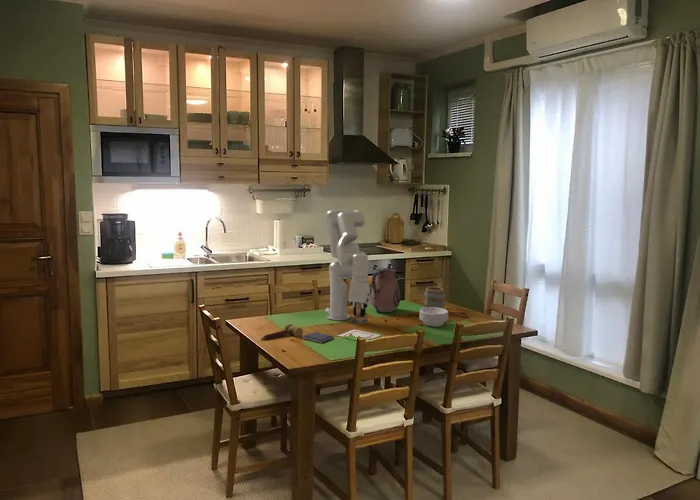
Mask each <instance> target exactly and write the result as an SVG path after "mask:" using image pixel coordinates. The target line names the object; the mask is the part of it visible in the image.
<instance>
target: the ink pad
mask: <svg viewBox="0 0 700 500" xmlns="http://www.w3.org/2000/svg"><path fill="white" fill-rule="evenodd" d="M333 338H334V339H335V336H334V335H330V334H328V333H322V332H319V331H318V332H317V331H314V332H311V333H307V334H305V335H301V339H302V340H306V341H310V342H314V343H318V342H320V343H319V344H323V343H322V342H324V343H326V342H328V341H327V340H329V341H331V340H330V339H332V340H334V339H333ZM325 341H326V342H325Z"/></svg>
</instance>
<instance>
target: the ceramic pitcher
mask: <svg viewBox="0 0 700 500" xmlns="http://www.w3.org/2000/svg"><path fill="white" fill-rule="evenodd" d="M374 270H375V271H374V272H373V274H372V275H371V287H372V289H371V291H370V300H371V303H372V304H371V306H372V307H373V309H374V310H375V311H376V312H380V313H393V312H394V311H396V310H397V308H398V307H399V305H400V303H401V292H400V287H399V283H398V279H397V278H396V272H397V269H395V268H394V267H388V268H387V267H376V268H375V269H374Z"/></svg>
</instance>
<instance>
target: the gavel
mask: <svg viewBox="0 0 700 500" xmlns="http://www.w3.org/2000/svg"><path fill="white" fill-rule="evenodd" d="M303 332H304V331H303V329H302V328H301V327H299V326H294V325H293V324H292V323H286V325H285V326H284V329H283V330H279V331H276V332H273V333H268V334H265V335H264V336H262V337H260V341H268V340H271V339H276V338H280V337H284V336H287V335H289V334H291V335H293V336H295V337H298V338H299V337H302V336H303V334H304V333H303Z"/></svg>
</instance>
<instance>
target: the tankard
mask: <svg viewBox="0 0 700 500" xmlns="http://www.w3.org/2000/svg"><path fill="white" fill-rule="evenodd" d="M443 287H444V284H443V283H439V285H438V286H426V287H425V291H424V293H423V296H424V297H425V299H424V300H423V304H424V308H425V307H438V308H443V309H445V308H444V306H445V305H446V301H445V298H446V293H445V288H443Z"/></svg>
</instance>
